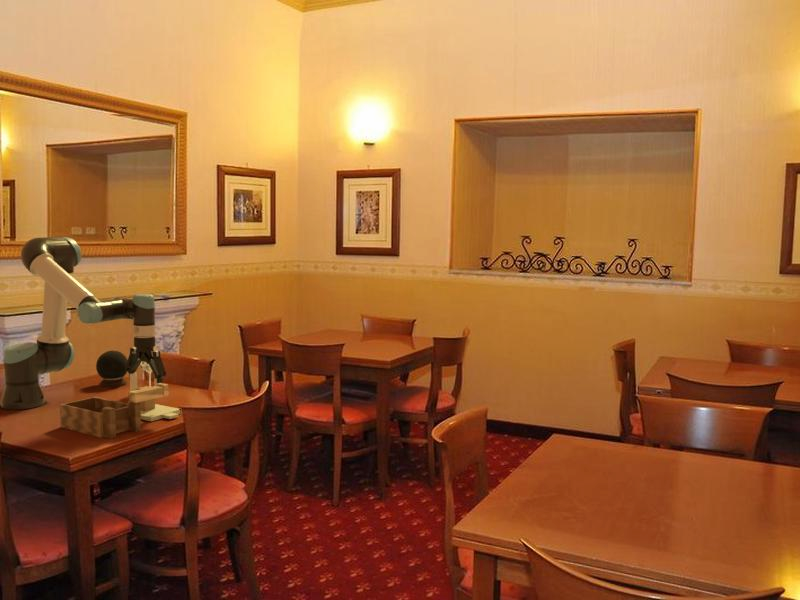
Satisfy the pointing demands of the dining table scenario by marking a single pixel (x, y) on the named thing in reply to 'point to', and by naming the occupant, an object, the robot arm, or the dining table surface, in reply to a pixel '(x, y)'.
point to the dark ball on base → (112, 369)
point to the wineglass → (147, 367)
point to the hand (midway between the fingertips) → (145, 392)
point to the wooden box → (100, 416)
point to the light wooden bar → (148, 393)
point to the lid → (156, 410)
